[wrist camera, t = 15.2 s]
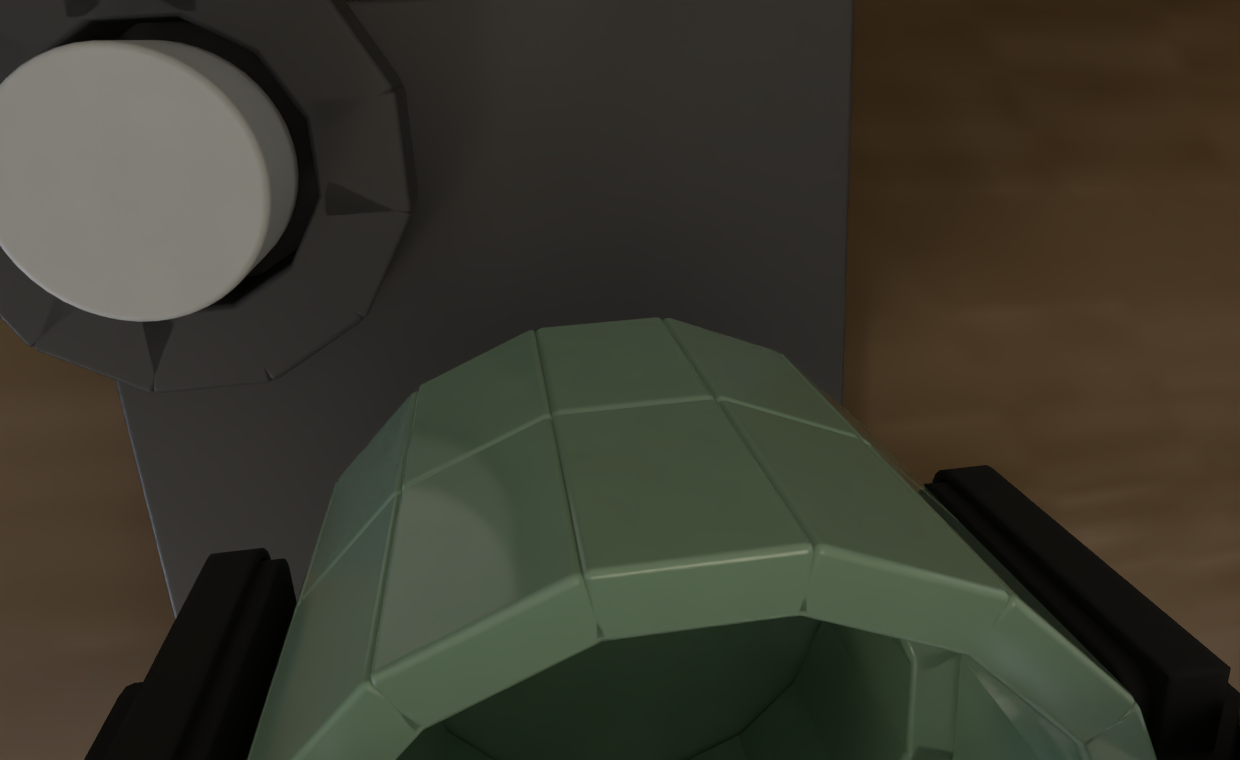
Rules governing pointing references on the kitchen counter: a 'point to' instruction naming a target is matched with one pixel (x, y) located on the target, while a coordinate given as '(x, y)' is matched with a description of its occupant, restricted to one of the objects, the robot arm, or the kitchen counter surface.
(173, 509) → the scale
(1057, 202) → the kitchen counter surface
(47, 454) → the kitchen counter surface
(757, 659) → the green cup
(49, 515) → the kitchen counter surface
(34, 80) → the power button
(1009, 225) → the kitchen counter surface
